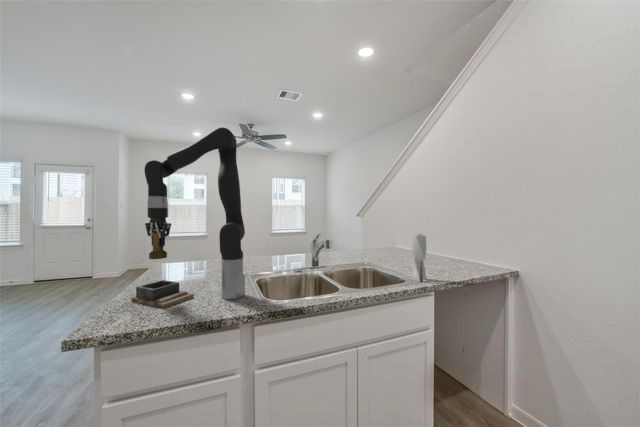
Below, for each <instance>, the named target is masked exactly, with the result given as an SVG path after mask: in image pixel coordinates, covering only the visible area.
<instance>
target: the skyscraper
mask: <svg viewBox="0 0 640 427" xmlns="http://www.w3.org/2000/svg"><path fill="white" fill-rule="evenodd" d="M412 233H413V236H412V244H411V246H412V258H413V268H412V276H411V277H412V278H413V279H417V280H420V282H419V283H424V282H423V280H424V279H426V280H427V275H426V273H427V272H426V266H425V261H426V260H425V259H426V255H427V235H426V233H424V232H423V233H418V232H416V231H415V230H413V231H412ZM412 278H411V279H412Z"/></svg>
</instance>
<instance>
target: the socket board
mask: <svg viewBox="0 0 640 427" xmlns="http://www.w3.org/2000/svg"><path fill="white" fill-rule="evenodd" d="M130 298H131V299H130V301H131V302H133V303H138V304H142V305H147V306H151V307H155V308H160V309H166V308H168V307H171V306H173V305H176V304H179V303H181V302H184V301H187V300H190V299H192V298H194V293H190V292H188V291H186V290H182V291H180V282H177V281H171V280H165V279H162V280H157V281H154V282H150V283H146V284H142V285H138V286H136V287H135V296H133V297H130Z"/></svg>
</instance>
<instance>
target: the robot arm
mask: <svg viewBox="0 0 640 427" xmlns="http://www.w3.org/2000/svg"><path fill="white" fill-rule="evenodd" d="M237 144H238V143H237V138H236V136H235V134H233V132H232V131H231V130H230V129H228V128H226V127H218V128H216V129H214V130H213V131H211V132H209V134H208V133H207V135H205V136H204V137H202V138H201V139H199V140H197V141H195V142H194V143H192V144H190V145H187V146H186V147H184V148H182V149H179V150H177V151H175V152H173V153H170V154H168V156H167V158H166V159H165V160H163V161H159V160H156V159H150V160H149V161H147V162H146V163H145V165H144V176H145V179H146V184H147V186H148V187H147V218H148V219H150V220H149V222H145V229H146V234H147V236H148V237H150V238H151V246H152V247H153V233H155V232H156V231H157V233H158V235H159V247H162V246H163V247H165V246H166V238H167V237H169V235H170V232H171V227H172V223H170V222H169V223H168V222H167V219H168V217H169V202H168V186H167V185H166V183H165V182H164V179H165V178H168V177H169V176H171V175H173V174H174V173H176V172H177V171H178V170H181V169H183V168H184V167H188V166H189V165H191V164H193V163H195V162H196V161H197V160H199V159H200V158H202V157H203V156H204V155H206V154H208V153H210V152H212V151H215V150H218V154H219V155H218V156H219V170H218V176H217V188H218V194H219V198H220V199H219V200H220V201H221V204H222V206H223V209H224V213H225V224H223V226H222V227H221V228H220V231H219V236H218V237H219V240H218V241H219V253H220V255H221V298H222V299H223V300H238V299H240V298H242V297H244V296H246V275H245V274H244V252H243V250H242V240H244V237H245V235H246V230H245V224H244V221H243V220H244V219H243V215H242V214H243V213H242V202H241V201H242V200H241V199H242V198H241V185H240V177H239V170H238V165H237V162H238V161H237V148H238V147H237ZM154 218H156V219H157V222H154ZM155 227H156V230H155ZM161 233H162V235H161Z"/></svg>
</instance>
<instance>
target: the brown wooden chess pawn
mask: <svg viewBox="0 0 640 427" xmlns="http://www.w3.org/2000/svg"><path fill="white" fill-rule="evenodd" d="M154 222H157V219H156V218H154ZM155 230H156V227H155ZM161 235H162V233H161ZM167 258H168V252H167V251H166V250H164V246H162V247H159V235H158V233H157V231H156V232H154V233H153V246H152V250H151V251H150V253H148V259H150V260H161V259H167Z"/></svg>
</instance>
